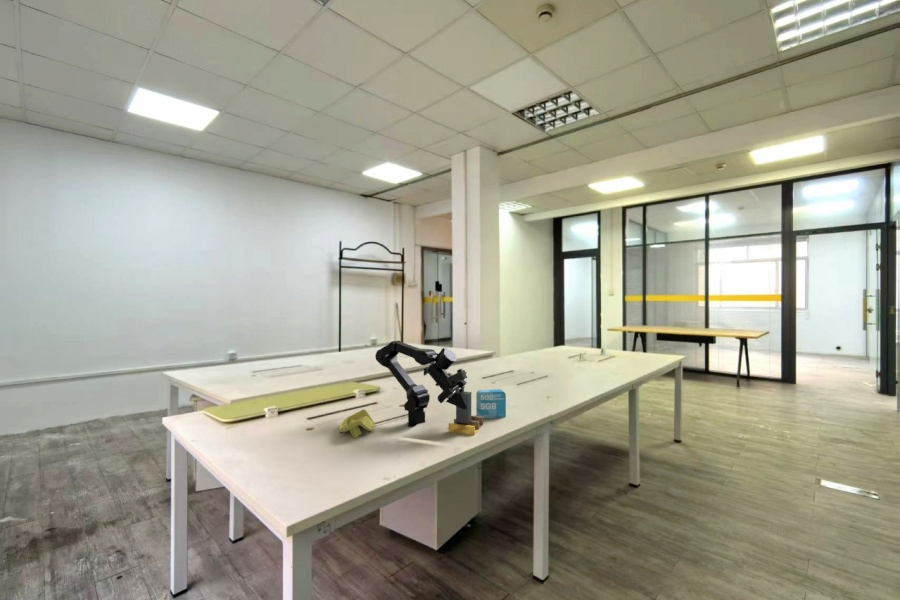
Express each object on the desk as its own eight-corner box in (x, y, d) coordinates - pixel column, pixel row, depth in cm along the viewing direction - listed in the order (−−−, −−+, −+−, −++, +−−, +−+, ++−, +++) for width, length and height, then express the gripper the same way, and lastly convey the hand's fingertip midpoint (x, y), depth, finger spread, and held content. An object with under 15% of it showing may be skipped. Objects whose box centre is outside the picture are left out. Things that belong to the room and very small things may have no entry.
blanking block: (456, 424, 144) (456, 393, 144) (459, 421, 147) (459, 391, 147) (468, 426, 142) (468, 394, 142) (471, 423, 145) (471, 392, 145)
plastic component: (344, 418, 155) (367, 407, 156) (352, 435, 155) (375, 423, 156) (336, 431, 135) (362, 418, 137) (345, 450, 135) (371, 436, 137)
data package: (478, 420, 160) (478, 392, 160) (476, 417, 164) (476, 389, 164) (506, 419, 161) (505, 391, 161) (503, 416, 166) (503, 389, 166)
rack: (448, 434, 143) (448, 423, 143) (459, 424, 155) (459, 414, 155) (474, 437, 139) (473, 426, 139) (483, 426, 151) (483, 416, 152)
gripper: (445, 366, 137) (474, 400, 133) (462, 359, 155) (488, 388, 151) (425, 386, 140) (453, 419, 136) (444, 377, 157) (469, 406, 153)
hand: (467, 407), depth 144 cm, fingers closed on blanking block, 3 cm apart
